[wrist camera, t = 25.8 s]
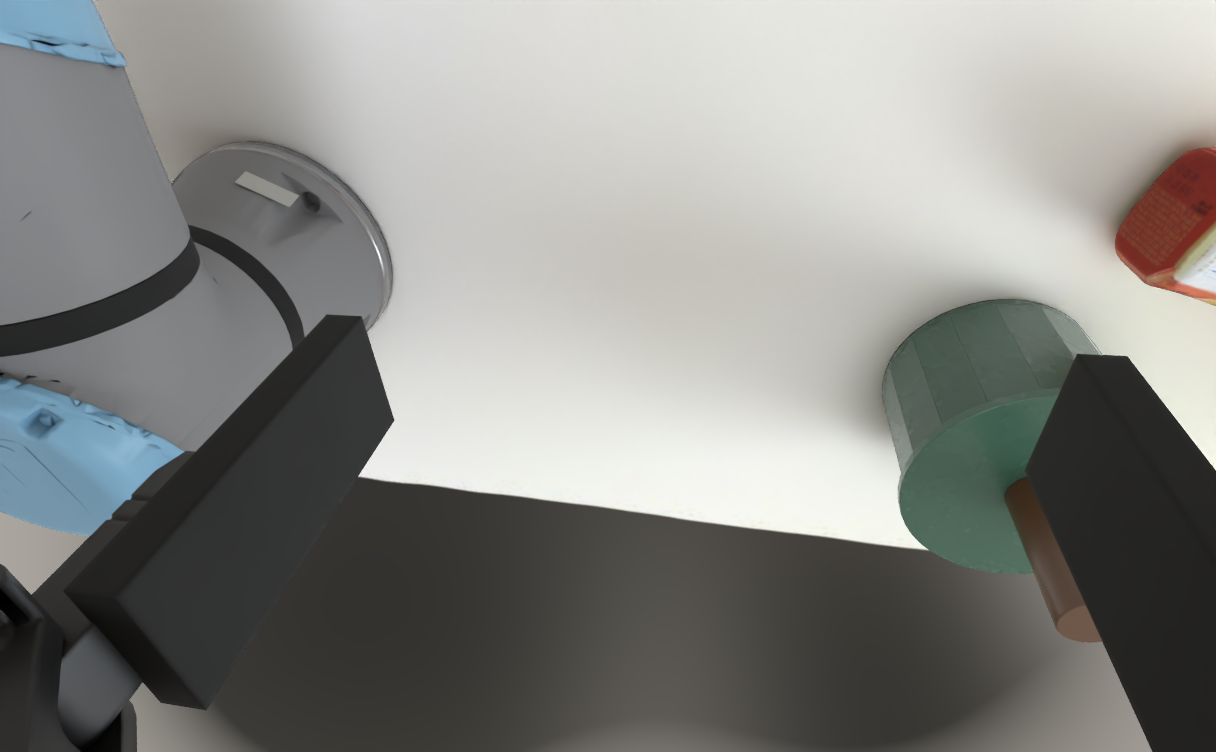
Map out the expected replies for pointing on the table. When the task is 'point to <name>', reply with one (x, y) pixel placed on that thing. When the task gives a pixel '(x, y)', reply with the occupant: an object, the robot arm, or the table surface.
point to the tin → (976, 364)
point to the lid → (992, 501)
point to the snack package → (1176, 229)
